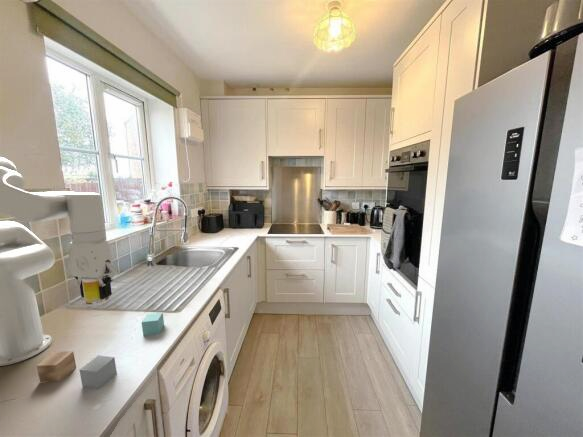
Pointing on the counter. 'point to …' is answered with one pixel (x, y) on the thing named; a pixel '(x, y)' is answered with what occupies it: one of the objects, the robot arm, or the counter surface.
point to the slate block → (98, 372)
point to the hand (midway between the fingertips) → (96, 295)
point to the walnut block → (56, 366)
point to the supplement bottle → (92, 291)
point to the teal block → (152, 323)
